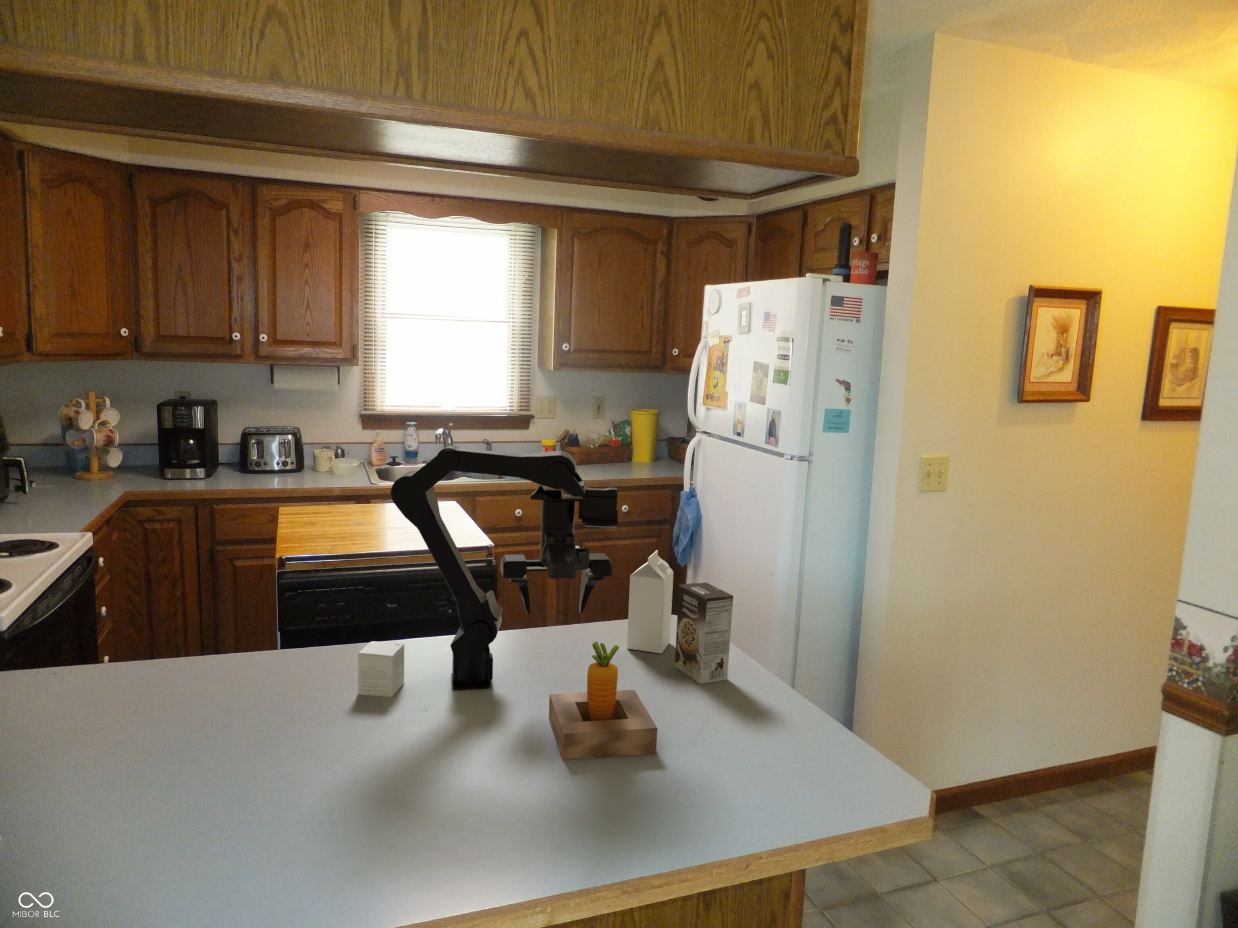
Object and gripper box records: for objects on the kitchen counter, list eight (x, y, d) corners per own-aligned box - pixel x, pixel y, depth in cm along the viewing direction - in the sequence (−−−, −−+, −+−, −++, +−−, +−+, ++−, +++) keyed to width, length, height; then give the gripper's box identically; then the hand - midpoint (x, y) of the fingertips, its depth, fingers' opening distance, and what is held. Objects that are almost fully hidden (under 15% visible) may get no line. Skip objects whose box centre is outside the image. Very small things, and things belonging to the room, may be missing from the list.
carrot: (621, 730, 134) (625, 639, 131) (607, 744, 129) (612, 649, 127) (592, 723, 135) (596, 633, 133) (578, 736, 131) (582, 643, 129)
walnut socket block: (562, 759, 124) (563, 733, 123) (548, 717, 137) (549, 693, 137) (656, 753, 127) (657, 727, 126) (633, 712, 140) (634, 689, 140)
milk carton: (626, 649, 169) (630, 555, 167) (636, 637, 176) (640, 548, 173) (661, 654, 167) (666, 560, 165) (669, 642, 174) (674, 551, 171)
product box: (371, 680, 149) (371, 640, 148) (405, 683, 148) (405, 642, 147) (357, 694, 143) (357, 652, 142) (392, 697, 142) (392, 655, 141)
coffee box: (672, 667, 161) (677, 584, 159) (701, 662, 164) (706, 580, 162) (699, 685, 153) (704, 597, 151) (729, 679, 156) (734, 594, 154)
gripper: (507, 536, 136) (505, 631, 138) (621, 535, 141) (617, 627, 143) (501, 522, 147) (499, 609, 149) (607, 521, 151) (603, 606, 153)
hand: (554, 613), depth 148 cm, fingers open, 9 cm apart
